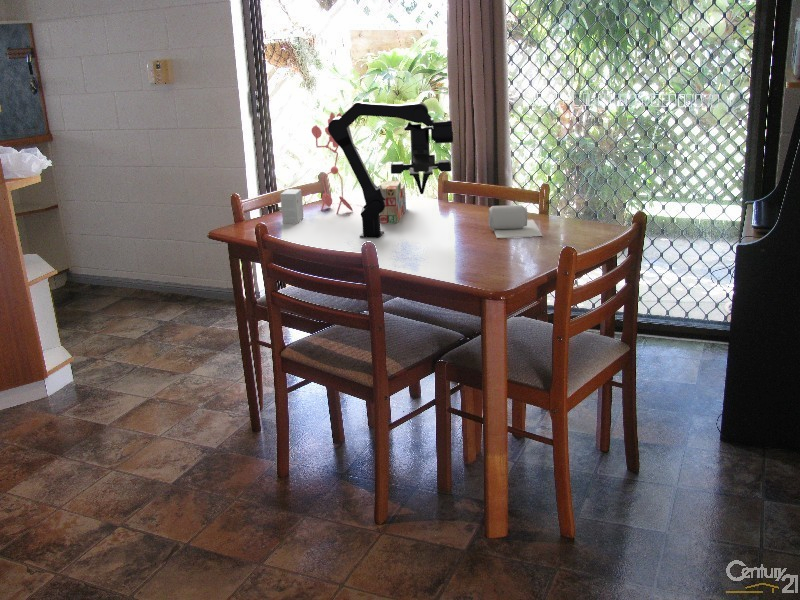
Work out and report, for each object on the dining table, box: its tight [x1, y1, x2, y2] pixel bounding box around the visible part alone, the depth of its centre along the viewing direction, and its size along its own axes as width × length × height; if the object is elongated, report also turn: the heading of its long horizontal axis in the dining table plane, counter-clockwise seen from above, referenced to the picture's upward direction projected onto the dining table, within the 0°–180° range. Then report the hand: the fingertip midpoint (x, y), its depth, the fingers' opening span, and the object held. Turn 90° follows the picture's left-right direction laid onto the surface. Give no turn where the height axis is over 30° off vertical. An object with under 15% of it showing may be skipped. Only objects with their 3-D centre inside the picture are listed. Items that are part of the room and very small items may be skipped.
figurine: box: [311, 112, 364, 217], centre depth 292 cm, size 15×26×35 cm, turn 43°
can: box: [488, 204, 528, 231], centre depth 257 cm, size 8×8×12 cm
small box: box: [279, 188, 304, 224], centre depth 282 cm, size 8×6×10 cm
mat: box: [493, 219, 543, 239], centre depth 259 cm, size 14×20×1 cm
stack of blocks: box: [379, 180, 407, 224], centre depth 282 cm, size 21×6×12 cm, turn 171°
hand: (421, 193), depth 255 cm, fingers closed
